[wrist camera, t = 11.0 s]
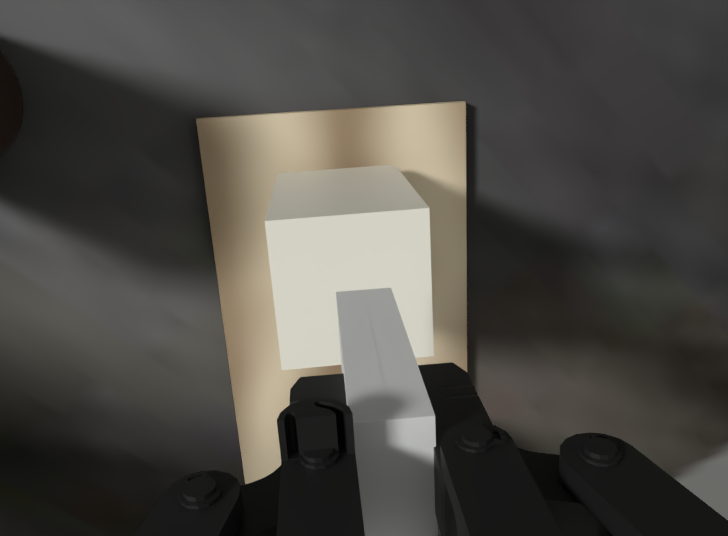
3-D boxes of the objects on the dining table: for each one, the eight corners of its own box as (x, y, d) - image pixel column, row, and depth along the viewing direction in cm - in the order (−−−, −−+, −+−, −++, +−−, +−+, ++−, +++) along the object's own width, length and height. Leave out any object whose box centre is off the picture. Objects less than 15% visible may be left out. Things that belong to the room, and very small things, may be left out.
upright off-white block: (288, 284, 30) (281, 370, 22) (277, 173, 28) (264, 220, 20) (400, 275, 30) (433, 356, 22) (394, 164, 29) (429, 207, 20)
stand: (248, 492, 35) (227, 644, 26) (198, 117, 29) (147, 146, 20) (465, 470, 36) (518, 611, 27) (462, 101, 29) (531, 121, 20)
